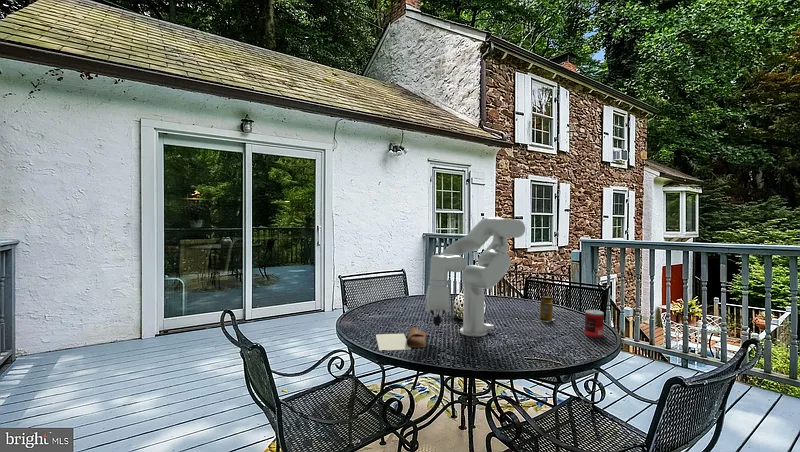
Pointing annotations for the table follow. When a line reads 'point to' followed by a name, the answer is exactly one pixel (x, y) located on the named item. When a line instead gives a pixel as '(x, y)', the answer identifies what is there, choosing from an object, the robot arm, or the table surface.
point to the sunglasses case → (416, 338)
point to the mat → (392, 342)
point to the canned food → (594, 323)
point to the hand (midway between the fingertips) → (436, 325)
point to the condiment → (546, 309)
